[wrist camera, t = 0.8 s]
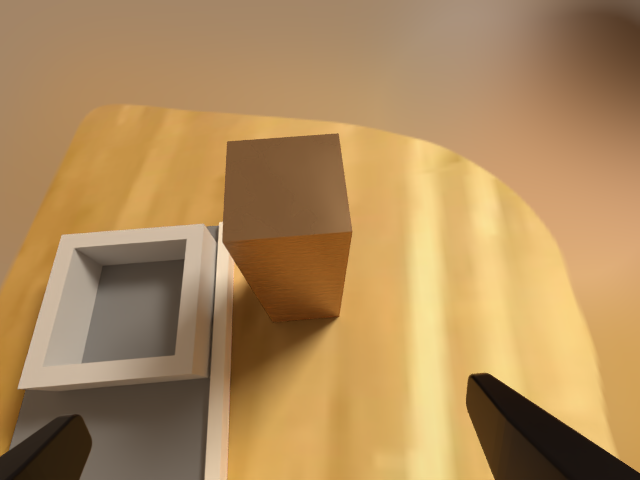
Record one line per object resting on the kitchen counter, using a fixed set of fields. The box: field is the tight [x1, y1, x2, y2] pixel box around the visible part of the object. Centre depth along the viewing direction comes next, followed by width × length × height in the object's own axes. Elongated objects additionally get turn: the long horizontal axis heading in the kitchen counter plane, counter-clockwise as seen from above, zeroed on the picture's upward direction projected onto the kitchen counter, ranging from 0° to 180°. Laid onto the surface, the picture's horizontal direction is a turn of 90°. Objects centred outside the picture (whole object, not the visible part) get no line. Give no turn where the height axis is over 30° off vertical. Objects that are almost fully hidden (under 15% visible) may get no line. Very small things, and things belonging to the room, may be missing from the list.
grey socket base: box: [9, 222, 234, 480], centre depth 20 cm, size 20×12×4 cm, turn 5°
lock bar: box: [222, 134, 352, 322], centre depth 18 cm, size 4×4×12 cm
